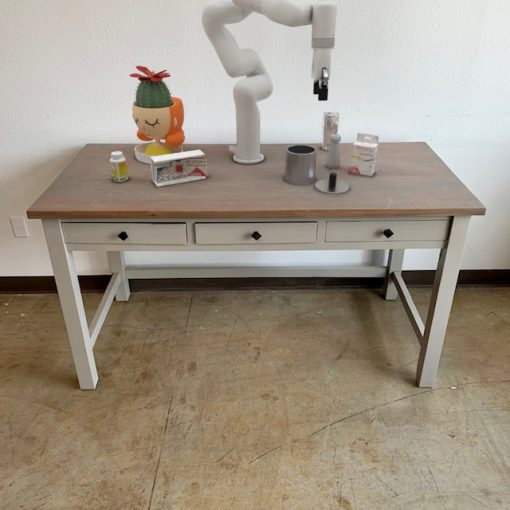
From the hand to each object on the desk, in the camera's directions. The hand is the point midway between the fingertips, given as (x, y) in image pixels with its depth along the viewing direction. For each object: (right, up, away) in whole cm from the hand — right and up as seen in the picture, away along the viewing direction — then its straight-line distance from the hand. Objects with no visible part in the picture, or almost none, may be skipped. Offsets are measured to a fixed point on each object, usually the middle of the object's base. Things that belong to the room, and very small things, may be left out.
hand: (320, 97), depth 166 cm
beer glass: (+9, -9, +42) cm, 44 cm away
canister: (-6, -26, +12) cm, 30 cm away
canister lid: (+5, -30, +4) cm, 31 cm away
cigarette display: (-50, -27, +12) cm, 58 cm away
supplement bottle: (-72, -27, +12) cm, 78 cm away
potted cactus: (-61, -13, +35) cm, 71 cm away
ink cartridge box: (+18, -24, +17) cm, 34 cm away
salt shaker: (+8, -20, +23) cm, 31 cm away
